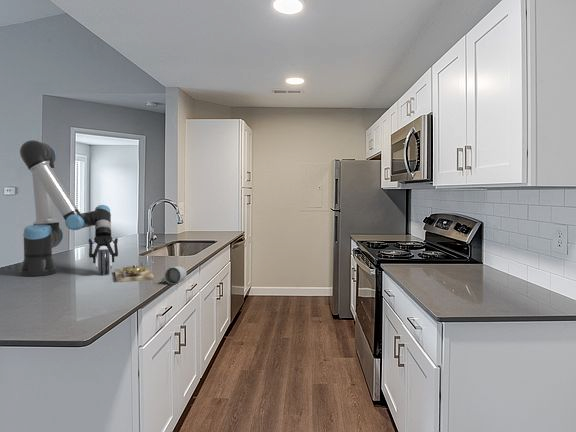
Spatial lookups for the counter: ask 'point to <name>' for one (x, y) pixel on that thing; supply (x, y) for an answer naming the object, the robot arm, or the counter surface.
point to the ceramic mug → (174, 275)
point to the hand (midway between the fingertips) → (103, 267)
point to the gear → (134, 269)
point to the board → (123, 276)
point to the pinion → (103, 262)
